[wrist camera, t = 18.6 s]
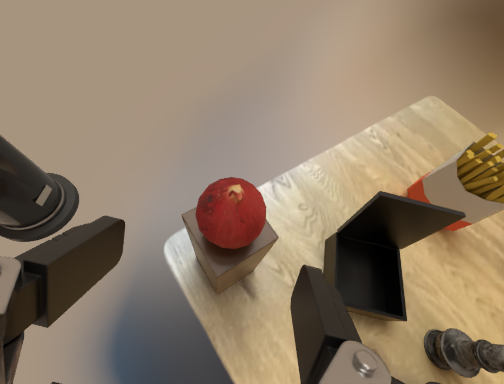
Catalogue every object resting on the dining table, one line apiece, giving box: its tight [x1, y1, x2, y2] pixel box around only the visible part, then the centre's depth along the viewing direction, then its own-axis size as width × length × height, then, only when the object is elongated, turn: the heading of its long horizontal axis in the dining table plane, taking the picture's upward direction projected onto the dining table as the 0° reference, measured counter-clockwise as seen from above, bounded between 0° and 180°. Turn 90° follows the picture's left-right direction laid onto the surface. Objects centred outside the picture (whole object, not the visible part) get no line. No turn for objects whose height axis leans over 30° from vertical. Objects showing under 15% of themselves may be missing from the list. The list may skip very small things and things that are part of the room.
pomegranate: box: [195, 177, 266, 249], centre depth 19 cm, size 6×6×8 cm
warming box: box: [324, 232, 407, 321], centre depth 38 cm, size 11×11×4 cm
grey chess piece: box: [424, 328, 504, 378], centre depth 31 cm, size 6×6×12 cm
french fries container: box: [407, 132, 504, 231], centre depth 41 cm, size 5×11×18 cm, turn 37°
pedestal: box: [182, 207, 279, 295], centre depth 31 cm, size 7×7×18 cm
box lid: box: [337, 191, 466, 249], centre depth 34 cm, size 12×11×1 cm
